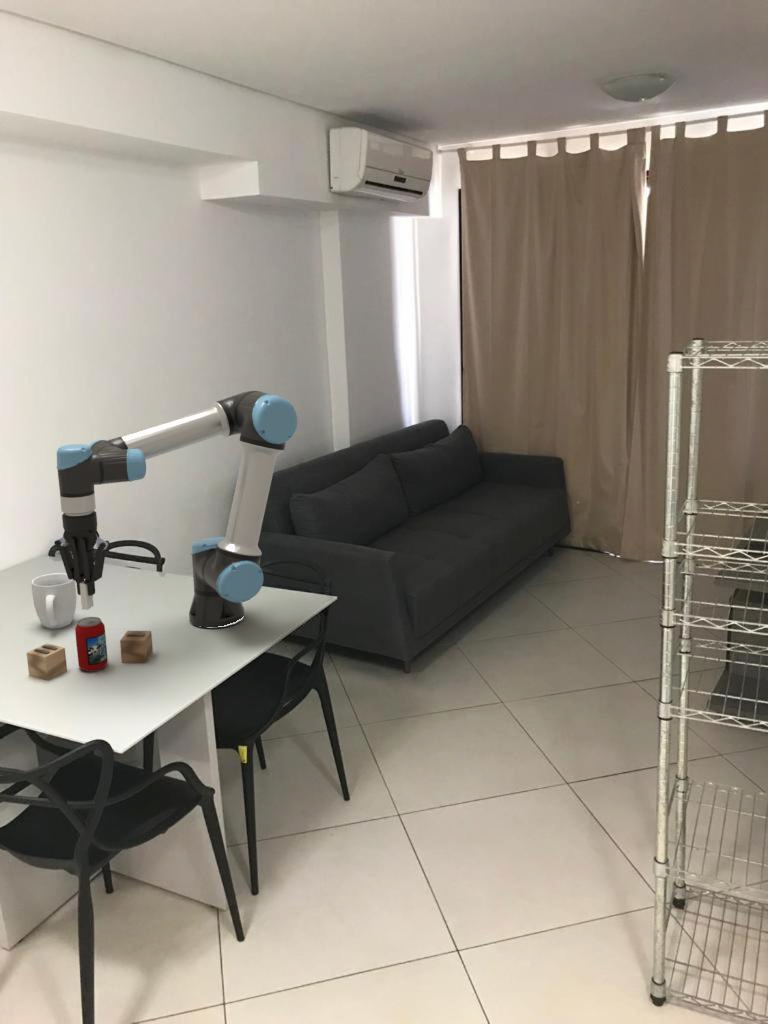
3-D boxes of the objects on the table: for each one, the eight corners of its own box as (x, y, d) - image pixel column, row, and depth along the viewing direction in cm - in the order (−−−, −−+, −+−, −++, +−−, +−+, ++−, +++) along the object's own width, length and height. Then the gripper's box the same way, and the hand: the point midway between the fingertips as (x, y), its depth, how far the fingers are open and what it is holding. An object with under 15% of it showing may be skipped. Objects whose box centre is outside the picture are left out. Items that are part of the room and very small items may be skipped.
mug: (74, 635, 221) (70, 589, 218) (30, 639, 218) (25, 592, 215) (81, 615, 235) (76, 571, 232) (39, 618, 233) (34, 574, 229)
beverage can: (99, 674, 199) (94, 627, 196) (73, 671, 200) (68, 625, 197) (113, 662, 205) (109, 616, 202) (88, 660, 206) (84, 614, 203)
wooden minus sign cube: (152, 653, 211) (151, 629, 209) (146, 663, 205) (144, 639, 203) (129, 652, 211) (127, 629, 209) (121, 663, 205) (119, 639, 203)
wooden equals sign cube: (67, 670, 201) (64, 646, 199) (47, 680, 196) (45, 656, 194) (48, 666, 203) (46, 642, 202) (29, 675, 198) (26, 651, 196)
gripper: (113, 509, 195) (120, 603, 201) (62, 506, 197) (71, 600, 203) (96, 517, 188) (105, 615, 194) (44, 514, 190) (54, 611, 196)
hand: (87, 607), depth 199 cm, fingers closed
